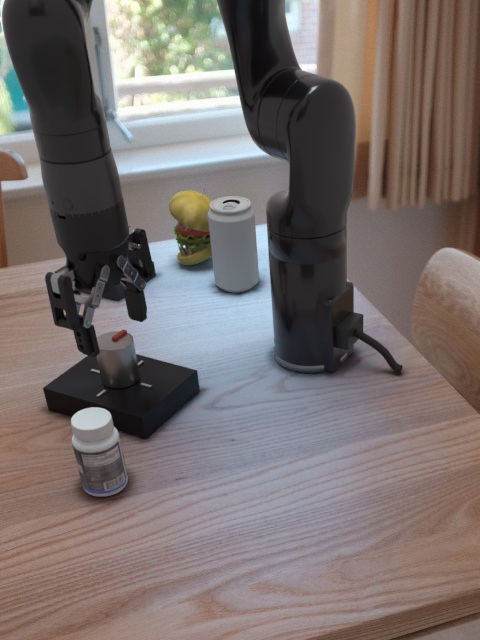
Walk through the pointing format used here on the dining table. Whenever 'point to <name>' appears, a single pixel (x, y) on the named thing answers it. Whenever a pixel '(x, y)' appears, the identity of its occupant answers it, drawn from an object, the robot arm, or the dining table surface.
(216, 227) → the beverage can
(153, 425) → the panel
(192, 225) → the hamburger
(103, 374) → the knob
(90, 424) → the pill bottle
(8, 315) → the dining table surface
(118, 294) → the button block
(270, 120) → the robot arm
